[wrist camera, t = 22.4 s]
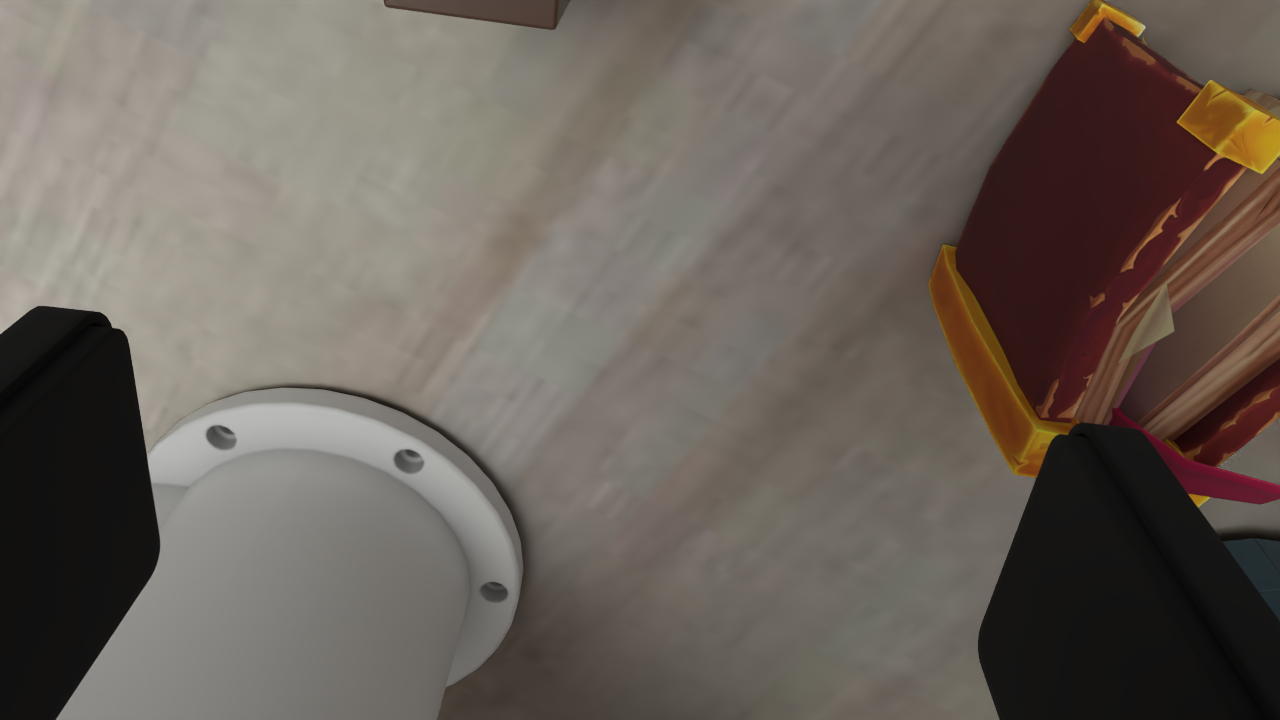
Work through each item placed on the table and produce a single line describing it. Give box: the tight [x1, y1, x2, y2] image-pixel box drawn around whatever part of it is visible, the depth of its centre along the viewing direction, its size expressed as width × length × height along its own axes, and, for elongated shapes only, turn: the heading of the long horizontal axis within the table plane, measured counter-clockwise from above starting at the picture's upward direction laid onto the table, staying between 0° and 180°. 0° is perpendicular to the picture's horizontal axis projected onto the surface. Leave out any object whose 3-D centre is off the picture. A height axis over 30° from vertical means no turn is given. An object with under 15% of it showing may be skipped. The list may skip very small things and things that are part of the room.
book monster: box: [928, 0, 1280, 507], centre depth 22 cm, size 11×9×12 cm
